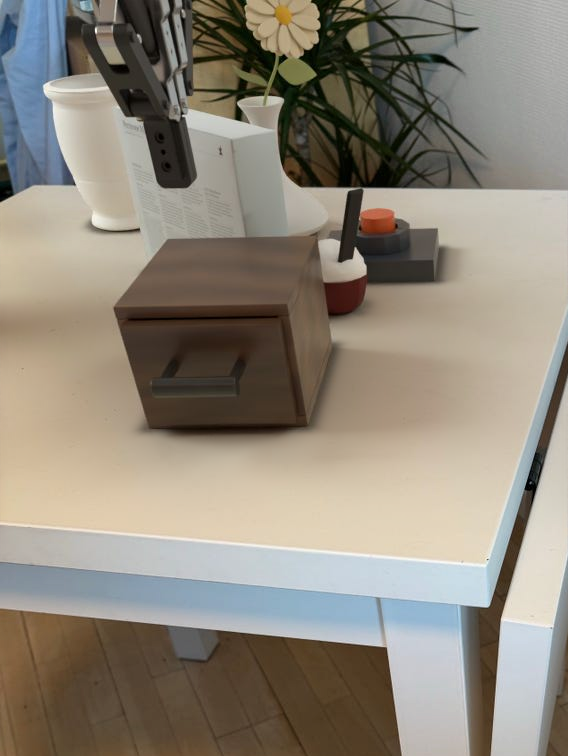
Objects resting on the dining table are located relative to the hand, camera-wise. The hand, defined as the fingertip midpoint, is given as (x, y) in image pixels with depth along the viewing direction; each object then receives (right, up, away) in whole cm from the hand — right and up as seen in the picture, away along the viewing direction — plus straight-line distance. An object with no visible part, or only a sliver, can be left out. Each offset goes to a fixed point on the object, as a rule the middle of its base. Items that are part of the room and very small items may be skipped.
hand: (178, 184), depth 58 cm
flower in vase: (-3, +19, +49) cm, 53 cm away
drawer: (-1, -9, +16) cm, 19 cm away
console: (+9, +12, +40) cm, 43 cm away
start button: (+8, +14, +38) cm, 42 cm away
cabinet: (-1, -7, +20) cm, 21 cm away
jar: (-24, +23, +54) cm, 63 cm away
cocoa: (+5, +3, +32) cm, 32 cm away
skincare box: (-7, +7, +37) cm, 38 cm away
